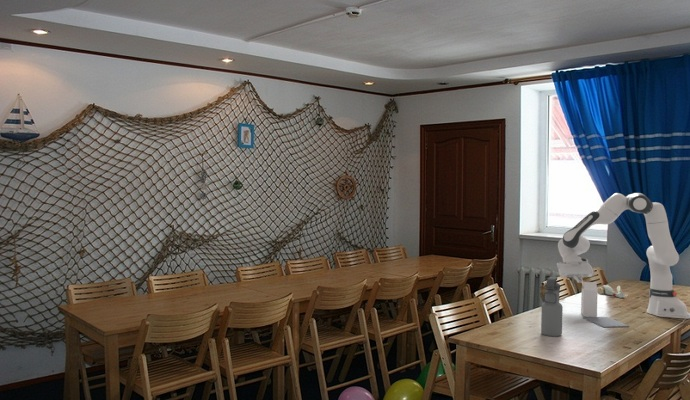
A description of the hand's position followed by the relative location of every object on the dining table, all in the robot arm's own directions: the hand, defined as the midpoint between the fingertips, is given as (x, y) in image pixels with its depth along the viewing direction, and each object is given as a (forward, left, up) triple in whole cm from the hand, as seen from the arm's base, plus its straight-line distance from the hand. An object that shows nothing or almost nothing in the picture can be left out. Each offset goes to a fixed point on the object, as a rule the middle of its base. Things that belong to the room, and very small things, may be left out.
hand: (580, 281), depth 345 cm
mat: (-16, +20, -17) cm, 31 cm away
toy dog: (-9, -63, -18) cm, 66 cm away
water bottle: (+3, +60, -17) cm, 63 cm away
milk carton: (-6, +7, -17) cm, 20 cm away
